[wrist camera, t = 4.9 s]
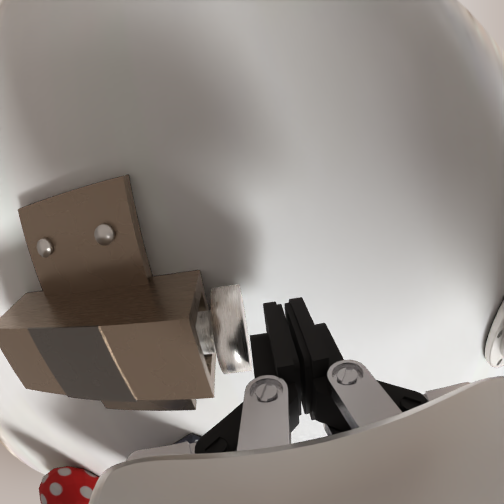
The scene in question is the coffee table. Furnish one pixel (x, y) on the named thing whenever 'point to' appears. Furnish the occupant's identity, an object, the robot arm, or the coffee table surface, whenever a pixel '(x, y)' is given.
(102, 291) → the hinge
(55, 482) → the decorative mushroom
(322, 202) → the coffee table surface
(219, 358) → the hinge pin
